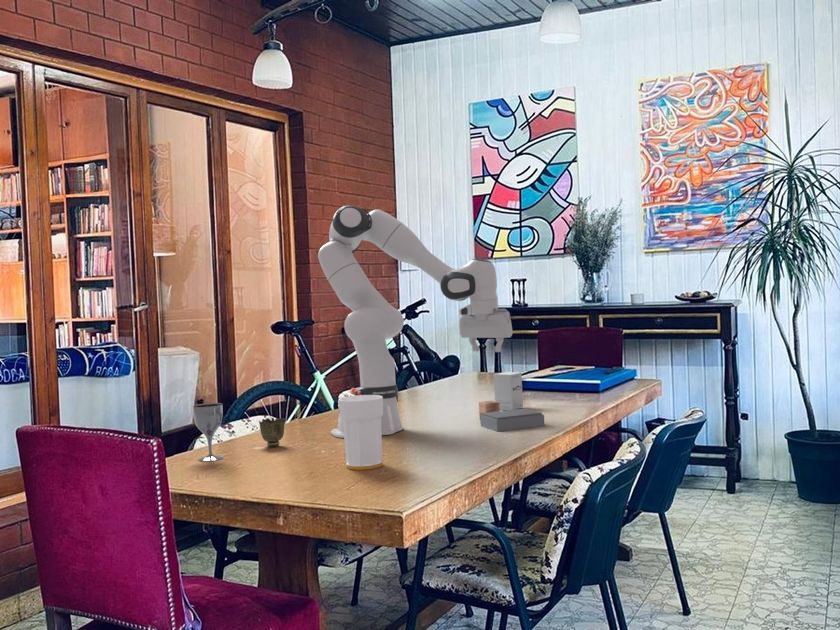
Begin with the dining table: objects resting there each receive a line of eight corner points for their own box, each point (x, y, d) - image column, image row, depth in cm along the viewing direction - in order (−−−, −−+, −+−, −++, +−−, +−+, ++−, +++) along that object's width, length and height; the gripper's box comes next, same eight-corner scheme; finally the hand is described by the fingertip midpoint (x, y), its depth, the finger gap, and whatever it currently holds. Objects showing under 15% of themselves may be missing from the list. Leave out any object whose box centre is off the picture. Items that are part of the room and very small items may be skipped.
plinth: (497, 431, 258) (496, 418, 258) (480, 425, 269) (479, 413, 269) (544, 425, 263) (543, 412, 263) (526, 420, 275) (525, 408, 275)
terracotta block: (486, 422, 276) (485, 403, 276) (479, 420, 280) (478, 402, 280) (500, 420, 278) (499, 402, 277) (493, 418, 282) (492, 400, 282)
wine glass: (200, 456, 242) (197, 403, 242) (228, 455, 242) (225, 402, 241) (192, 462, 234) (188, 407, 234) (221, 461, 234) (217, 406, 233)
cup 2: (391, 467, 214) (387, 398, 214) (347, 472, 211) (343, 402, 210) (380, 459, 225) (377, 393, 225) (338, 464, 222) (334, 397, 221)
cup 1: (278, 449, 247) (276, 421, 247) (255, 448, 250) (254, 421, 250) (290, 444, 254) (289, 417, 254) (268, 443, 257) (267, 417, 257)
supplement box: (512, 411, 296) (511, 374, 296) (494, 410, 301) (492, 374, 300) (523, 407, 302) (522, 372, 302) (505, 406, 307) (504, 371, 306)
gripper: (515, 307, 272) (517, 351, 273) (468, 309, 287) (470, 350, 288) (502, 309, 268) (504, 353, 268) (455, 310, 283) (457, 352, 283)
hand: (486, 351), depth 278 cm, fingers open, 8 cm apart
